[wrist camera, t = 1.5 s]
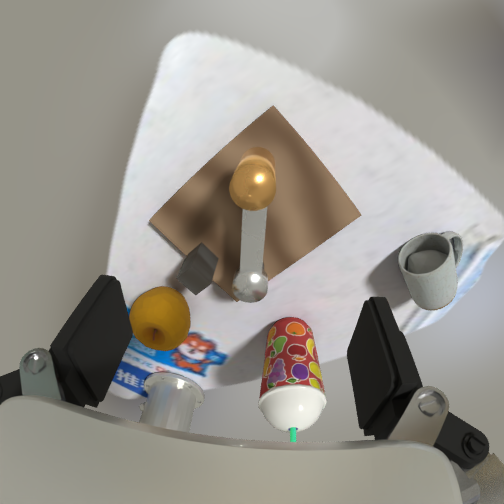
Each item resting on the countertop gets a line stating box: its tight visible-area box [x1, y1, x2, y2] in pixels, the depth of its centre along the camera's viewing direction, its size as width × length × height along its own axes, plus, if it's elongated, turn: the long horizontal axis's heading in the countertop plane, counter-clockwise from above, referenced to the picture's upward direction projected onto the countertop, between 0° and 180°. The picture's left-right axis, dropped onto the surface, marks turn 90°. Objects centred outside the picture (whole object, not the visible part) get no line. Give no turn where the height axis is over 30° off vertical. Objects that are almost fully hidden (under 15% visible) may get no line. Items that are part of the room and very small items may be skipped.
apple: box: [129, 286, 190, 351], centre depth 40 cm, size 9×8×9 cm
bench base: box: [149, 106, 361, 302], centre depth 33 cm, size 20×16×7 cm
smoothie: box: [258, 317, 327, 442], centre depth 37 cm, size 8×8×20 cm
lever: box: [229, 147, 276, 303], centre depth 28 cm, size 18×4×10 cm, turn 177°
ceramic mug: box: [398, 231, 463, 310], centre depth 34 cm, size 11×8×8 cm
